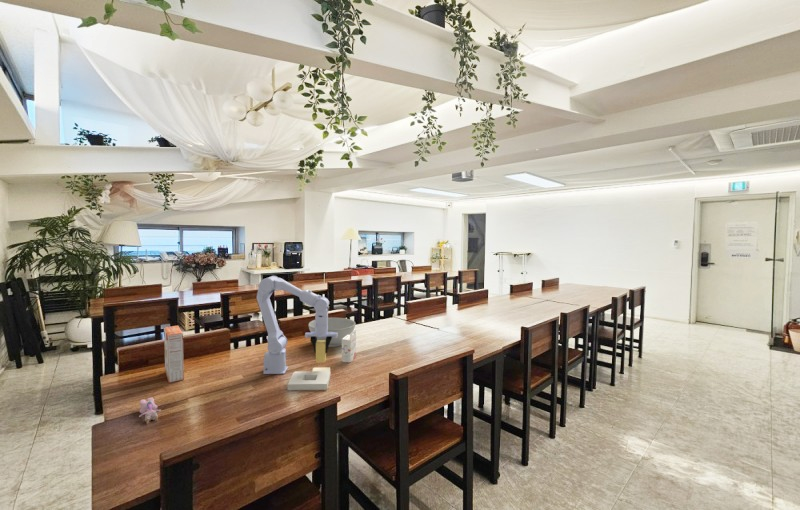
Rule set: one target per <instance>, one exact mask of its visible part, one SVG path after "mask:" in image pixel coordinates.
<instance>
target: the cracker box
mask: <svg viewBox="0 0 800 510" xmlns="http://www.w3.org/2000/svg"><path fill="white" fill-rule="evenodd" d="M163 340H164V341H163V342H164V371H165V375H166V378H167V382H168V384H171V383H176V382H180V381H184V380H185V371H184V369H185V368H184V367H185V366H184V333H183V332H182V330H181V328H180V326H179V325H172V326H170V325H169V326H166V327H163Z"/></svg>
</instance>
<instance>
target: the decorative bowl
mask: <svg viewBox="0 0 800 510" xmlns="http://www.w3.org/2000/svg"><path fill="white" fill-rule="evenodd" d="M307 325H308V329H309V331H310V332H315V319H313V320H311V321H309V323H308V324H307ZM355 327H356V321H354V320H353V319H349V318H345V317H328V332H335V333H337V338H335V337H332V339H331V341H330V344H329V346H328V348H335V347H340V346H342V339H343V338H344V337H345V336H346V335H350V334H351V333H352V332H353V331H354V330H355ZM317 340H326V337H317Z"/></svg>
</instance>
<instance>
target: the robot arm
mask: <svg viewBox="0 0 800 510" xmlns="http://www.w3.org/2000/svg"><path fill="white" fill-rule="evenodd" d="M257 287H258V288H257V293H256V300H257V304H258V307H259V310H260V313H261V316H262V319H263V323H264V326H265V330H266V331H267V340H266V341H267V351H266V352H265V353H264V355H263V372H262V375H284V374H285V373H286V372H287V370H288V368H289V366H287V349H286V347H287V346H288V345H287V344H288V338H287V337H286V336H285V335H284V332H283V331H282V330H281V328H280V327H279V324H278V320H277V317H276V314H275V311H274V308H273V304H272V302H271V299H270V298H271V296H272V295H273V293H274V291H284V292H288V293H290V295H291V294H292V295H293V296H297V298H298V297H299V301H300V302H302V303H304V304H306V305H309V306H310V307H313V308H314V310H315V316H314V317H315V319H314V320H315V332H304V333H305V334H304V338H305V339H306V338H310V342H311V345H312V347H313V350H314V351H313V352H314V354H316V342H317V337H326V354H328V351H329V347H328V346H329V344H330V341H331V339H332V337H335V338H337V333H335V332H328V318H329V314H328V313H329V309H328V308H329V305H330V301H329V299H328V298H327V297H326V296H322V295H320V294H317V293H314V292H313V291H312V290H311V289H305V290H303V289H301V288H299V287H297V286H295V285H294V284H292V283H290V282H289V281H286V280H285V279H284V278H281V277H278V276H277V275H271V276H269V277H266V278H263V279H261V281H260V282H259V283H258V285H257Z"/></svg>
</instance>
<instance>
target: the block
mask: <svg viewBox="0 0 800 510" xmlns="http://www.w3.org/2000/svg"><path fill="white" fill-rule="evenodd" d="M326 361H327V353H326V340H317V342H316V353H315V363H316V364H317V363H326Z"/></svg>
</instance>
